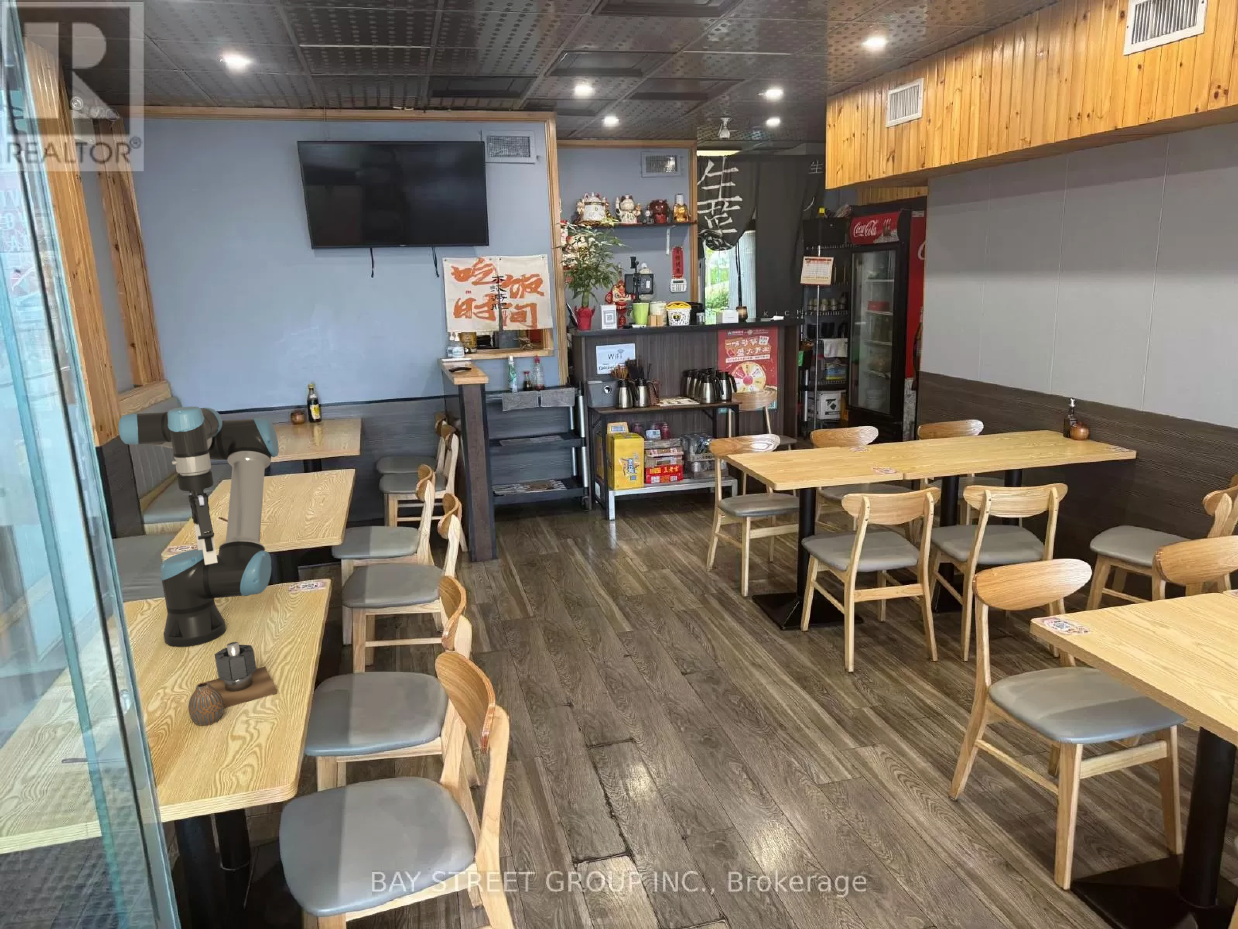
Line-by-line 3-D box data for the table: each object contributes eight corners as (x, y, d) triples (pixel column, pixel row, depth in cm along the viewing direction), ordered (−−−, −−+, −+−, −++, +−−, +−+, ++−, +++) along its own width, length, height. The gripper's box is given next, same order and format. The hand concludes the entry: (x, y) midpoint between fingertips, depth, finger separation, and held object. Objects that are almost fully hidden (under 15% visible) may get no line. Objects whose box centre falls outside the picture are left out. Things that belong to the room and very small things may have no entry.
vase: (216, 709, 188) (211, 674, 186) (231, 719, 183) (225, 682, 181) (185, 722, 183) (179, 686, 181) (200, 732, 178) (193, 695, 176)
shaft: (223, 684, 197) (216, 643, 195) (250, 677, 200) (244, 636, 198) (227, 694, 192) (220, 652, 190) (254, 686, 195) (248, 645, 193)
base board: (203, 687, 199) (202, 682, 198) (265, 670, 206) (265, 666, 205) (211, 711, 187) (210, 706, 187) (276, 693, 194) (276, 688, 194)
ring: (216, 670, 196) (213, 650, 195) (252, 661, 201) (249, 641, 200) (220, 683, 190) (217, 663, 189) (258, 673, 194) (255, 653, 193)
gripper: (171, 465, 208) (185, 546, 213) (182, 484, 187) (196, 573, 192) (204, 460, 212) (217, 540, 217) (218, 479, 191) (231, 566, 196)
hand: (207, 556), depth 204 cm, fingers open, 13 cm apart
